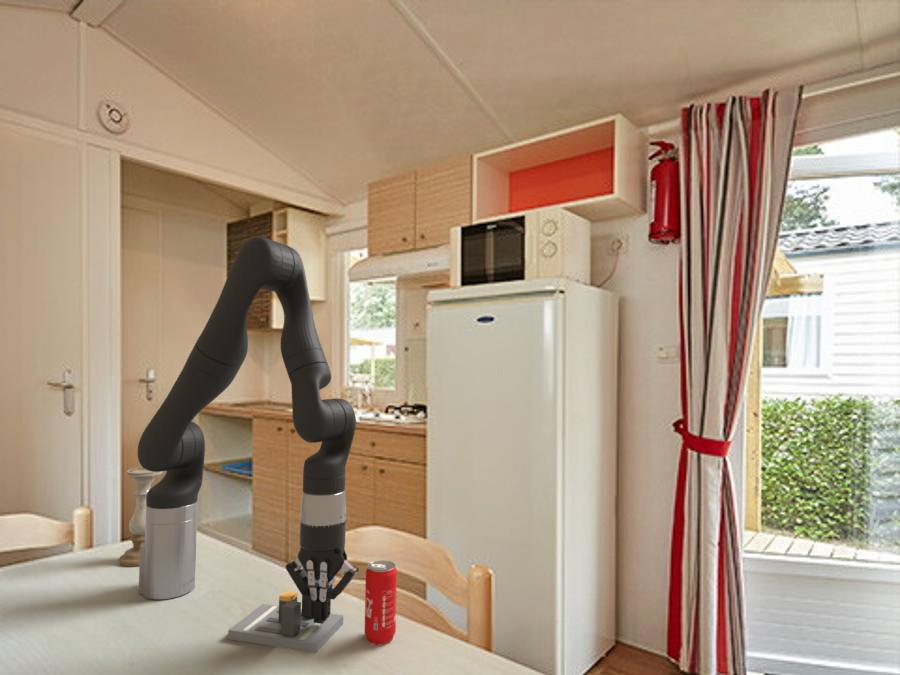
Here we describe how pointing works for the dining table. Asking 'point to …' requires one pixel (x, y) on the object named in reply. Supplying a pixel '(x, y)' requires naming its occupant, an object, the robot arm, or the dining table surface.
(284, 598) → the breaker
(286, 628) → the block
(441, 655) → the dining table surface
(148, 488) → the candle holder
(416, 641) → the dining table surface
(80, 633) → the dining table surface
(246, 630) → the panel
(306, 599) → the block
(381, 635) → the beverage can
